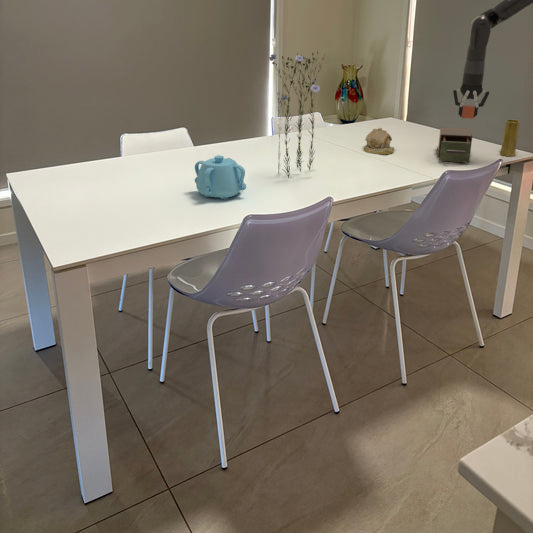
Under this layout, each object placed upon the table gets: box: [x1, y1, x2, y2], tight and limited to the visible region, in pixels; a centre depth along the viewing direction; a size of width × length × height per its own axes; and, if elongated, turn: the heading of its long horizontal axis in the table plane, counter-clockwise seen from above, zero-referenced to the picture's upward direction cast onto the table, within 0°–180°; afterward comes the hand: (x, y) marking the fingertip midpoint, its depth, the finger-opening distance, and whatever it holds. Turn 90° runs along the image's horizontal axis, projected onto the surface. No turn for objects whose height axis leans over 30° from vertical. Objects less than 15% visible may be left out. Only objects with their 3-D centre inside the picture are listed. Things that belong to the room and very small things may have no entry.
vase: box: [499, 118, 521, 157], centre depth 246 cm, size 6×6×14 cm
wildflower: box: [268, 51, 326, 179], centre depth 215 cm, size 22×23×45 cm
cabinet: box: [437, 126, 473, 158], centre depth 250 cm, size 15×13×10 cm
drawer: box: [439, 137, 472, 163], centre depth 240 cm, size 18×11×8 cm, turn 165°
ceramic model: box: [363, 127, 395, 155], centre depth 255 cm, size 14×11×10 cm
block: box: [461, 104, 475, 120], centre depth 234 cm, size 4×4×4 cm
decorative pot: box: [194, 154, 247, 200], centre depth 202 cm, size 16×16×14 cm
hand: (467, 116), depth 235 cm, fingers closed on block, 4 cm apart
